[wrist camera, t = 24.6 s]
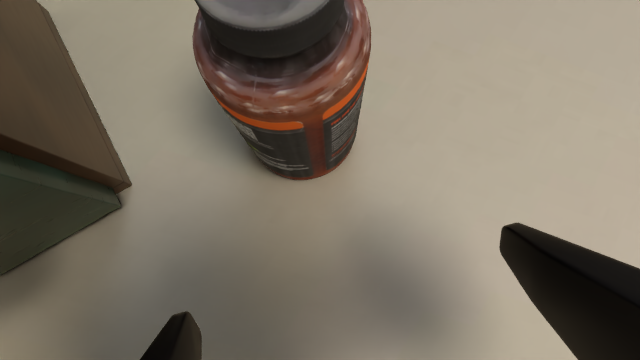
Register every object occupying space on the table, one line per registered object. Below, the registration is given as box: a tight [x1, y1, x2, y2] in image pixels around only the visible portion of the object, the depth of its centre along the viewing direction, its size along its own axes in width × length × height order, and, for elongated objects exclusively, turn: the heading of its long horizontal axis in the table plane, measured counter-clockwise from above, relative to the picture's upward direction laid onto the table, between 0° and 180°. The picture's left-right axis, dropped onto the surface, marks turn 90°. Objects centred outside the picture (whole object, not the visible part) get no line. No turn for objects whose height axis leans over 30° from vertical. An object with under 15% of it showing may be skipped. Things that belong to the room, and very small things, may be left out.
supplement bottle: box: [193, 0, 371, 180], centre depth 14 cm, size 6×6×11 cm
